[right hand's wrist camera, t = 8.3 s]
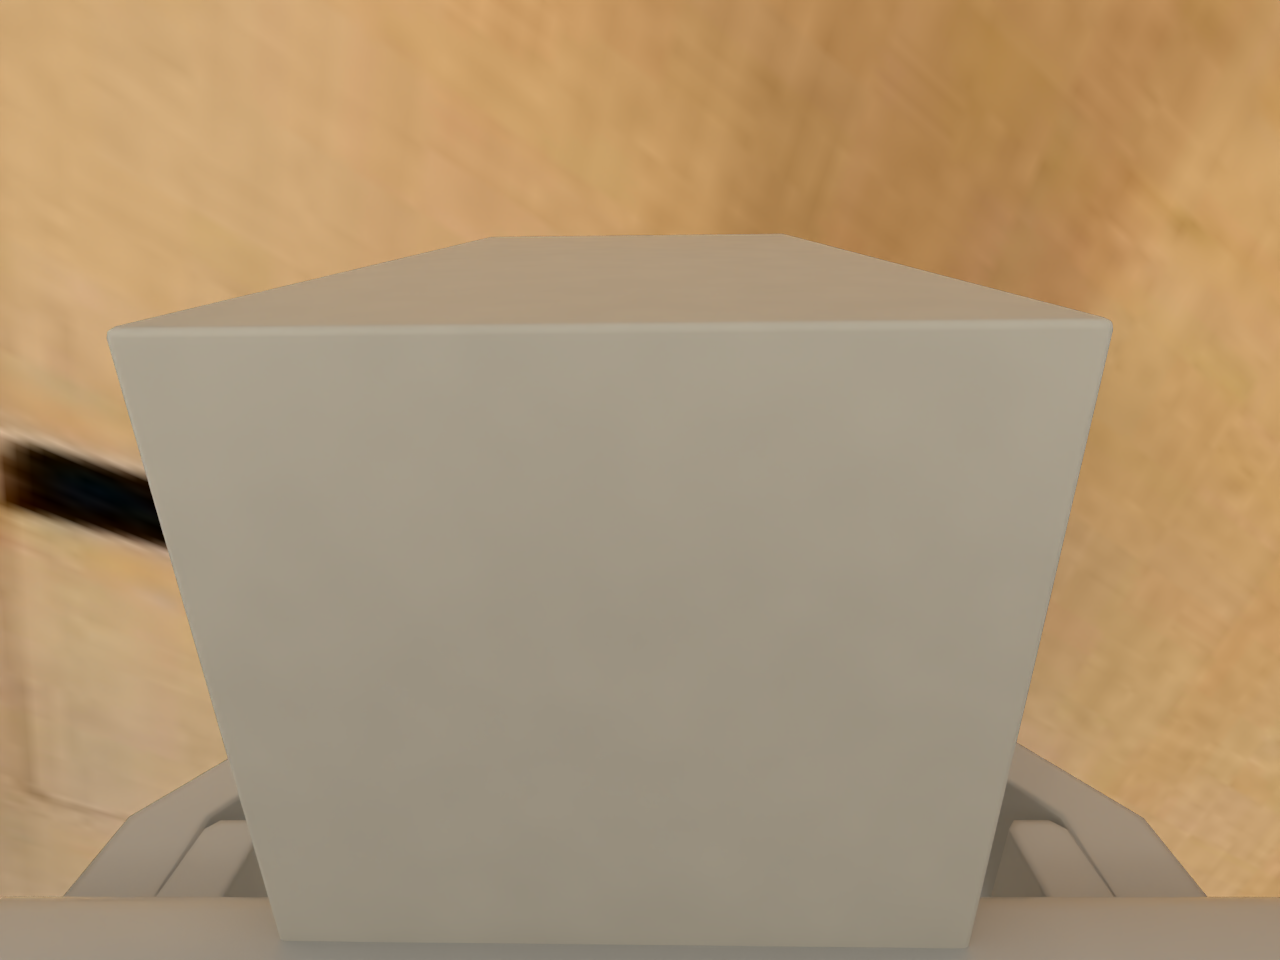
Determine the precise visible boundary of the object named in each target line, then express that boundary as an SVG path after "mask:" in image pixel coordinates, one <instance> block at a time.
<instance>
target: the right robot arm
mask: <svg viewBox="0 0 1280 960" xmlns="http://www.w3.org/2000/svg"><path fill="white" fill-rule="evenodd" d="M0 960H1280V897H1207V896H1206V895H1205V893H1204V892H1203V891H1202V890H1201V889H1200V887H1199V886H1198V885H1197V884H1196V882H1195V881H1194V880H1193V879H1192V877H1191V876H1190V875H1189V874H1188V872H1187V871H1186V870H1185V869H1184V868H1183V866H1182V865H1181V864H1180V863H1179V861H1178V860H1177V859H1176V858H1175V856H1174V855H1173V854H1172V853H1171V851H1170V850H1169V849H1168V848H1167V847H1166V845H1165V844H1164V843H1163V842H1162V840H1161V839H1160V838H1159V837H1158V835H1157V834H1156V833H1155V832H1154V830H1153V829H1152V828H1151V827H1150V826H1149V824H1148V823H1147V822H1146V821H1145V819H1144V818H1142V817H1141V816H1139V815H1137V814H1136V813H1134V812H1132V811H1131V810H1129V809H1127V808H1126V807H1124V806H1122V805H1121V804H1119V803H1117V802H1116V801H1114V800H1112V799H1111V798H1109V797H1107V796H1105V795H1104V794H1102V793H1100V792H1099V791H1097V790H1095V789H1094V788H1092V787H1090V786H1089V785H1087V784H1085V783H1084V782H1082V781H1080V780H1079V779H1077V778H1075V777H1074V776H1072V775H1070V774H1069V773H1067V772H1065V771H1063V770H1062V769H1060V768H1058V767H1057V766H1055V765H1053V764H1052V763H1050V762H1048V761H1047V760H1045V759H1043V758H1042V757H1040V756H1038V755H1037V754H1035V753H1033V752H1032V751H1030V750H1028V749H1027V748H1025V747H1023V746H1022V745H1020V744H1018V743H1016V746H1015V750H1014V754H1013V759H1012V763H1011V767H1010V771H1009V776H1008V780H1007V784H1006V788H1005V793H1004V797H1003V801H1002V805H1001V810H1000V814H999V818H998V823H997V827H996V831H995V835H994V840H993V844H992V848H991V852H990V857H989V861H988V865H987V870H986V874H985V878H984V882H983V887H982V891H981V895H980V899H979V904H978V908H977V912H976V916H975V921H974V925H973V929H972V934H971V938H970V942H969V946H968V947H967V948H964V949H962V948H871V947H779V946H688V945H596V944H505V943H413V942H321V941H283V940H281V939H280V936H279V933H278V929H277V926H276V923H275V919H274V916H273V912H272V909H271V905H270V902H269V898H268V895H267V891H266V888H265V884H264V881H263V878H262V874H261V871H260V867H259V864H258V860H257V857H256V853H255V850H254V846H253V843H252V839H251V836H250V833H249V829H248V826H247V822H246V819H245V815H244V812H243V808H242V805H241V801H240V798H239V794H238V791H237V788H236V784H235V781H234V777H233V774H232V770H231V767H230V763H229V760H228V759H227V760H225V761H223V762H222V763H220V764H218V765H217V766H215V767H213V768H211V769H210V770H208V771H206V772H205V773H203V774H201V775H200V776H198V777H196V778H194V779H193V780H191V781H189V782H188V783H186V784H184V785H183V786H181V787H179V788H177V789H176V790H174V791H172V792H171V793H169V794H167V795H166V796H164V797H162V798H160V799H159V800H157V801H155V802H154V803H152V804H150V805H149V806H147V807H145V808H143V809H142V810H140V811H138V812H137V813H135V814H133V815H132V816H130V817H129V818H128V819H127V820H126V821H125V822H124V824H123V825H122V826H121V827H120V828H119V830H118V831H117V832H116V833H115V834H114V836H113V837H112V838H111V839H110V840H109V842H108V843H107V844H106V845H105V847H104V848H103V849H102V850H101V851H100V853H99V854H98V855H97V856H96V857H95V859H94V860H93V861H92V862H91V863H90V865H89V866H88V867H87V868H86V869H85V871H84V872H83V873H82V874H81V875H80V877H79V878H78V879H77V880H76V881H75V883H74V884H73V885H72V886H71V888H70V889H69V890H68V891H67V892H66V894H65V895H64V896H63V897H0Z"/></svg>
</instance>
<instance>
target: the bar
mask: <svg viewBox="0 0 1280 960" xmlns="http://www.w3.org/2000/svg"><path fill="white" fill-rule="evenodd" d="M1112 332H1113V325H1112V322H1111V321H1110V320H1108V319H1106V318H1104V317H1100V316H1097V315H1093V314H1089V313H1085V312H1081V311H1077V310H1074V309H1070V308H1066V307H1062V306H1058V305H1054V304H1050V303H1047V302H1043V301H1039V300H1035V299H1031V298H1027V297H1024V296H1020V295H1016V294H1012V293H1008V292H1004V291H1001V290H997V289H993V288H989V287H985V286H981V285H978V284H974V283H970V282H966V281H962V280H958V279H954V278H951V277H947V276H943V275H939V274H935V273H931V272H928V271H924V270H920V269H916V268H912V267H908V266H905V265H901V264H897V263H893V262H889V261H885V260H882V259H878V258H874V257H870V256H866V255H862V254H859V253H855V252H851V251H847V250H843V249H839V248H835V247H832V246H828V245H824V244H820V243H816V242H812V241H809V240H805V239H801V238H797V237H793V236H789V235H786V234H717V235H626V236H536V237H489V238H485V239H480V240H476V241H472V242H468V243H464V244H459V245H455V246H451V247H447V248H443V249H438V250H434V251H430V252H426V253H422V254H418V255H413V256H409V257H405V258H401V259H397V260H392V261H388V262H384V263H380V264H376V265H371V266H367V267H363V268H359V269H355V270H350V271H346V272H342V273H338V274H334V275H329V276H325V277H321V278H317V279H313V280H308V281H304V282H300V283H296V284H292V285H287V286H283V287H279V288H275V289H271V290H266V291H262V292H258V293H254V294H250V295H245V296H241V297H237V298H233V299H229V300H225V301H220V302H216V303H212V304H208V305H204V306H199V307H195V308H191V309H187V310H183V311H178V312H174V313H170V314H166V315H162V316H157V317H153V318H149V319H145V320H141V321H136V322H132V323H128V324H124V325H120V326H116V327H114V328H112V329H110V330H109V331H108V332H107V341H108V344H109V348H110V351H111V355H112V358H113V362H114V365H115V369H116V372H117V375H118V379H119V382H120V386H121V389H122V393H123V396H124V400H125V403H126V407H127V410H128V414H129V417H130V420H131V424H132V427H133V431H134V434H135V438H136V441H137V445H138V448H139V452H140V455H141V459H142V462H143V465H144V469H145V472H146V476H147V479H148V483H149V486H150V490H151V493H152V497H153V500H154V504H155V507H156V510H157V514H158V517H159V521H160V524H161V528H162V531H163V535H164V538H165V542H166V545H167V549H168V552H169V556H170V559H171V562H172V566H173V569H174V573H175V576H176V580H177V583H178V587H179V590H180V594H181V597H182V601H183V604H184V607H185V611H186V614H187V618H188V621H189V625H190V628H191V632H192V635H193V639H194V642H195V646H196V649H197V652H198V656H199V659H200V663H201V666H202V670H203V673H204V677H205V680H206V684H207V687H208V691H209V694H210V697H211V701H212V704H213V708H214V711H215V715H216V718H217V722H218V725H219V729H220V732H221V736H222V739H223V743H224V746H225V749H226V753H227V756H228V760H229V763H230V767H231V770H232V774H233V777H234V781H235V784H236V788H237V791H238V794H239V798H240V801H241V805H242V808H243V812H244V815H245V819H246V822H247V826H248V829H249V833H250V836H251V839H252V843H253V846H254V850H255V853H256V857H257V860H258V864H259V867H260V871H261V874H262V878H263V881H264V884H265V888H266V891H267V895H268V898H269V902H270V905H271V909H272V912H273V916H274V919H275V923H276V926H277V929H278V933H279V936H280V939H281V940H283V941H321V942H413V943H505V944H596V945H688V946H779V947H871V948H962V949H964V948H967V947H968V946H969V942H970V938H971V934H972V929H973V925H974V921H975V916H976V912H977V908H978V904H979V899H980V895H981V891H982V887H983V882H984V878H985V874H986V870H987V865H988V861H989V857H990V852H991V848H992V844H993V840H994V835H995V831H996V827H997V823H998V818H999V814H1000V810H1001V805H1002V801H1003V797H1004V793H1005V788H1006V784H1007V780H1008V776H1009V771H1010V767H1011V763H1012V759H1013V754H1014V750H1015V746H1016V741H1017V737H1018V733H1019V729H1020V724H1021V720H1022V716H1023V712H1024V707H1025V703H1026V699H1027V695H1028V690H1029V686H1030V682H1031V677H1032V673H1033V669H1034V665H1035V660H1036V656H1037V652H1038V648H1039V643H1040V639H1041V635H1042V630H1043V626H1044V622H1045V618H1046V613H1047V609H1048V605H1049V601H1050V596H1051V592H1052V588H1053V584H1054V579H1055V575H1056V571H1057V566H1058V562H1059V558H1060V554H1061V549H1062V545H1063V541H1064V537H1065V532H1066V528H1067V524H1068V519H1069V515H1070V511H1071V507H1072V502H1073V498H1074V494H1075V490H1076V485H1077V481H1078V477H1079V473H1080V468H1081V464H1082V460H1083V455H1084V451H1085V447H1086V443H1087V438H1088V434H1089V430H1090V426H1091V421H1092V417H1093V413H1094V409H1095V404H1096V400H1097V396H1098V391H1099V387H1100V383H1101V379H1102V374H1103V370H1104V366H1105V362H1106V357H1107V353H1108V349H1109V344H1110V340H1111V336H1112Z"/></svg>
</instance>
